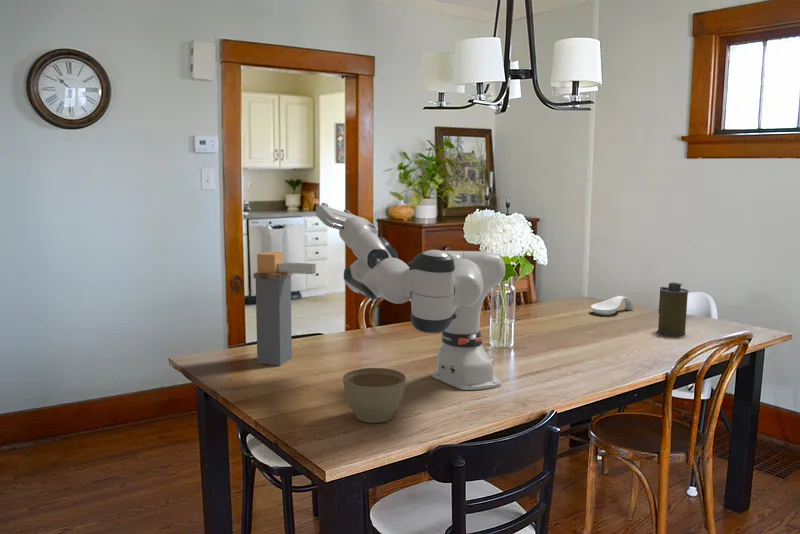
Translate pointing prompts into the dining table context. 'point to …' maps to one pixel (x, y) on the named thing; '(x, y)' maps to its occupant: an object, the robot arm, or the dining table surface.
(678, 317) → the canister
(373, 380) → the planter bowl
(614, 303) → the spoon rest
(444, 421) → the dining table surface
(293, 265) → the bar
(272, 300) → the cabinet stand
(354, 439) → the dining table surface
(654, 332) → the dining table surface
